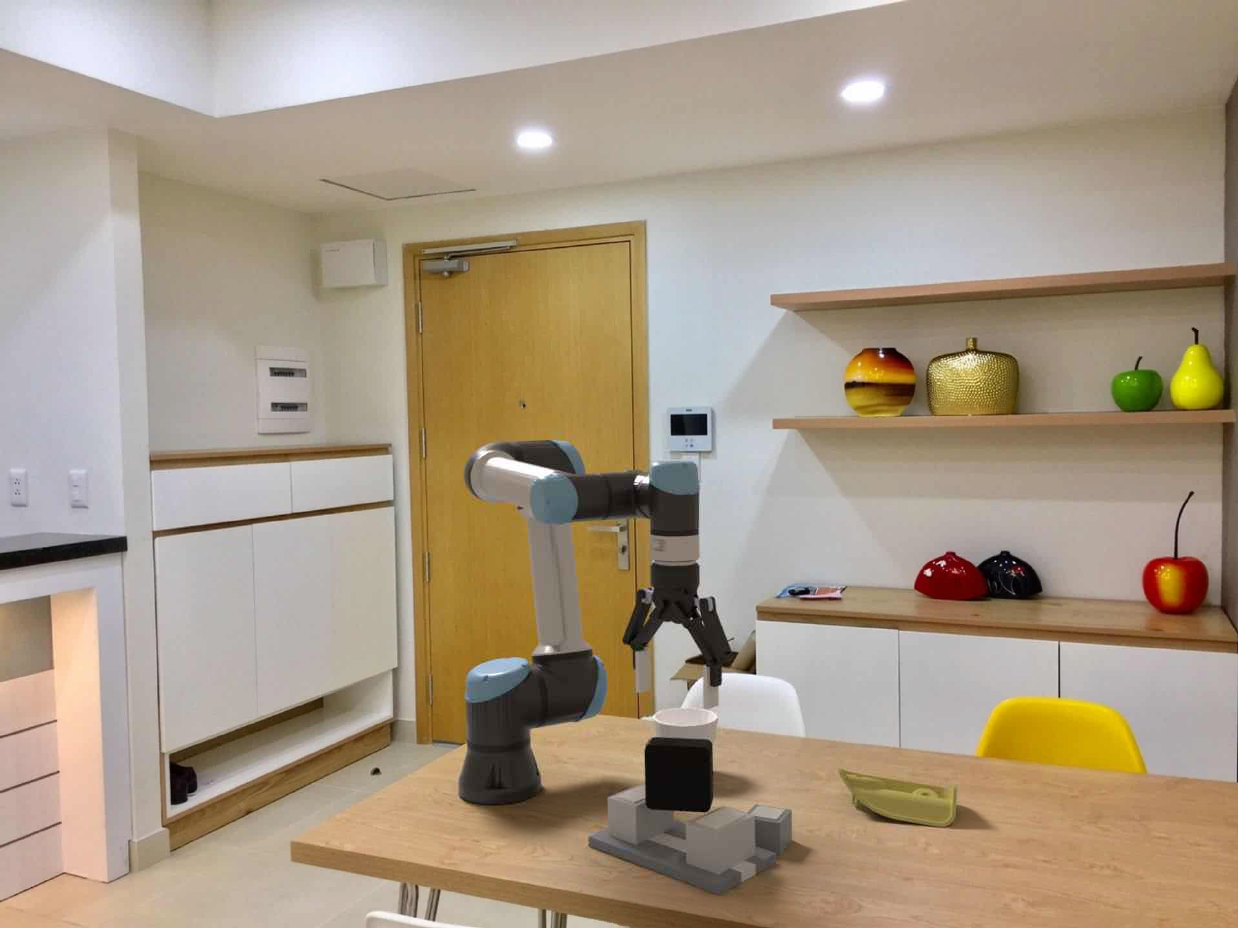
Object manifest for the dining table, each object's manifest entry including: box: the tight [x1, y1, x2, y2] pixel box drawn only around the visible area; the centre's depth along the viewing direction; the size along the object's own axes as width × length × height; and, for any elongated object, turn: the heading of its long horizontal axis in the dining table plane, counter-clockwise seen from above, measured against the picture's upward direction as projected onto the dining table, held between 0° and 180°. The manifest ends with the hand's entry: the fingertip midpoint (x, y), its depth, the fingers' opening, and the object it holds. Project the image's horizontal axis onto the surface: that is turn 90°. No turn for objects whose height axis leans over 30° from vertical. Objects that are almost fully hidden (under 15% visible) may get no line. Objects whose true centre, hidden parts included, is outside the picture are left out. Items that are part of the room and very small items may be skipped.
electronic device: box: [643, 736, 714, 814], centre depth 155 cm, size 4×10×10 cm, turn 78°
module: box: [747, 804, 793, 856], centre depth 159 cm, size 6×6×5 cm
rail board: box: [587, 782, 777, 896], centre depth 156 cm, size 26×14×8 cm, turn 47°
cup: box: [652, 707, 719, 746], centre depth 192 cm, size 12×12×11 cm
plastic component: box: [836, 764, 958, 828], centre depth 172 cm, size 20×7×10 cm
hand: (676, 698), depth 155 cm, fingers open, 13 cm apart
